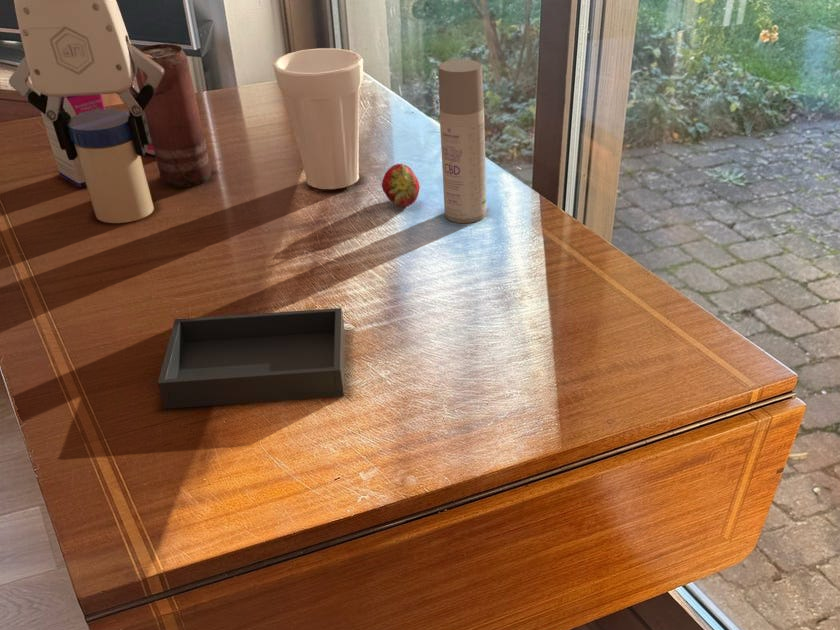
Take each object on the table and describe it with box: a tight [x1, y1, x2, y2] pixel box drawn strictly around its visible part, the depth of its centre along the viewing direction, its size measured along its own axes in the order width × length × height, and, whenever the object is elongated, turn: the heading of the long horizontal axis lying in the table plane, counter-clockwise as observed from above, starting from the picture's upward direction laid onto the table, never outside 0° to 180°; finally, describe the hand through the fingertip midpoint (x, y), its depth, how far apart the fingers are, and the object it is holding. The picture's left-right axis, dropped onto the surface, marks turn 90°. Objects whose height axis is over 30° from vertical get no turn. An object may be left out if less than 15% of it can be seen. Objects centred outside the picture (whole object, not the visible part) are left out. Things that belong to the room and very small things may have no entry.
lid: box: [67, 108, 132, 147], centre depth 107 cm, size 7×7×2 cm
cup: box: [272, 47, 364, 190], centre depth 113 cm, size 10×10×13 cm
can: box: [136, 43, 212, 188], centre depth 115 cm, size 6×6×14 cm
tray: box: [157, 307, 346, 410], centre depth 87 cm, size 15×11×2 cm
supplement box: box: [29, 74, 106, 188], centre depth 117 cm, size 6×6×12 cm
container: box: [438, 58, 487, 224], centre depth 105 cm, size 5×5×15 cm
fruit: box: [381, 163, 421, 208], centre depth 111 cm, size 4×6×5 cm
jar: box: [74, 138, 155, 224], centre depth 110 cm, size 7×7×9 cm
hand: (108, 152), depth 109 cm, fingers closed on lid, 6 cm apart
